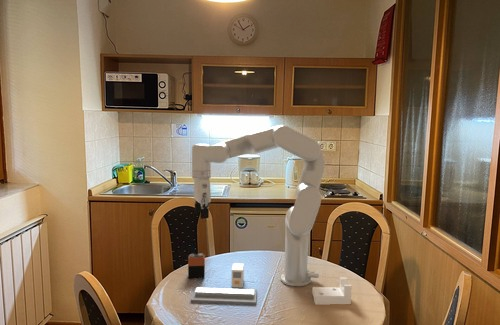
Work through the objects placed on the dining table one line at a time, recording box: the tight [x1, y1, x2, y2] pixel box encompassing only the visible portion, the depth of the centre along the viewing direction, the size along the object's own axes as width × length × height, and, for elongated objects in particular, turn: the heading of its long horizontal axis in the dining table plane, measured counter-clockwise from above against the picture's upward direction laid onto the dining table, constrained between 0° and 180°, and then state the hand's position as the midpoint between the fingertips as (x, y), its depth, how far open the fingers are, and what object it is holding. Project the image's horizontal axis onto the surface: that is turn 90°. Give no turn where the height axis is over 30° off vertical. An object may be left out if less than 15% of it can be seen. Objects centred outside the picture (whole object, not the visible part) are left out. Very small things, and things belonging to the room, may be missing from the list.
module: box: [231, 262, 245, 288], centre depth 153 cm, size 4×8×7 cm, turn 177°
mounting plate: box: [190, 286, 258, 306], centre depth 142 cm, size 24×10×1 cm, turn 87°
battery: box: [187, 252, 206, 280], centre depth 159 cm, size 4×7×10 cm, turn 96°
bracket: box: [311, 277, 353, 305], centre depth 141 cm, size 13×7×8 cm, turn 91°
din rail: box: [195, 287, 255, 298], centre depth 141 cm, size 22×4×2 cm, turn 87°
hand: (201, 215), depth 154 cm, fingers open, 9 cm apart
